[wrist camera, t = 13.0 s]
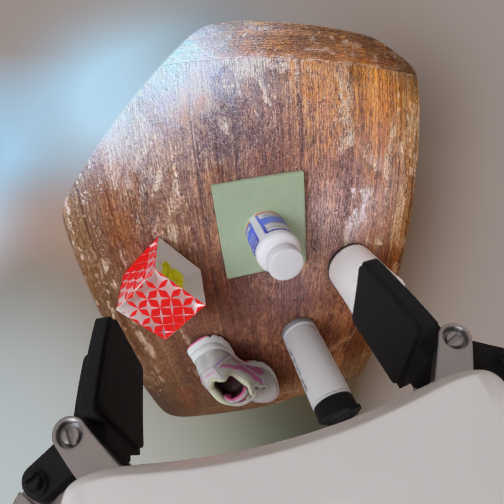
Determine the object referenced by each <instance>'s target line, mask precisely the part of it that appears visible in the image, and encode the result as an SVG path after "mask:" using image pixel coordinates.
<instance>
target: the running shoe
mask: <svg viewBox="0 0 504 504" xmlns="http://www.w3.org/2000/svg"><path fill="white" fill-rule="evenodd" d="M187 353H188V355H189V356H190V357H191V358H192V361H193V362H194V364H195V365H196V368H197V370H198V373H199V375H200V378H201V383H202V384H203V386H204V387H205V388H206V389H207V390H208V391H209V392H210V393H211V395H212V396H213V397H214V398H215V399H216V400H217V401H219V402H220V403H222V404H226V405H231V406H242V405H245V404H247V403H249V402H251V401H254V402H258V403H268V402H272V401H273V400H275V399H276V398H277V397H278V395H279V386H278V382H277V379H276V376H275V373H274V372H273V371H272V369H271V368H270V367H269V366H268V365H266V364H265V363H264V362H262V361H255V360H247V361H243V360H241V359H240V358H238V357H237V356H236V355H235V353H234V351H233V349H232V348H231V346H230V345H229V343H228V342H227V341H226V340H225V339H224V338H223V337H221V336H217V335H214V334H213V335H212V336H211V337H209V336H204V337H202V338H200V339H198V340H197V341H195V342H194V343H193V344H191V345H190V346H189V347H188V349H187Z"/></svg>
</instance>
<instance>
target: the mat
mask: <svg viewBox="0 0 504 504" xmlns="http://www.w3.org/2000/svg"><path fill="white" fill-rule="evenodd" d="M211 189H212V196H213V202H214V208H215V213H216V219H217V225H218V231H219V237H220V242H221V248H222V254H223V259H224V265H225V270H226V276H227V279H230V278H234V277H239V276H244V275H249V274H253V273H258V272H262V271H265V270H264V269H263V268H261V266H260V265H259V264H258V262H257V260H256V258H255V256H254V253H253V251H252V249H251V247H250V245H249V242H248V240H247V238H246V235H245V227H246V223H247V221H248V220H249V219H250V217H252V216H253V215H254V214H255V213H257V212H260V211H264V210H269V211H273V212H275V213H277V214H278V215H279V216H280V217H281V218H282V219H283V220H284V222H285V223H286V224H287V225H288V227H289V228H290V229H291V231H292V232H293V233H294V234H295V236H296V237H297V239H298V240H299V243H300V246H301V255H302V257H303V262H306V228H305V191H304V172H303V171H302V170H301V171H294V172H287V173H280V174H273V175H266V176H260V177H254V178H248V179H242V180H236V181H230V182H225V183H219V184H214V185H211Z"/></svg>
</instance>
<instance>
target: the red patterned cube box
mask: <svg viewBox="0 0 504 504" xmlns="http://www.w3.org/2000/svg"><path fill="white" fill-rule="evenodd" d="M205 305H206V303H205V296H204V290H203V283H202V276H201V270H200V269H199V268H198V267H196V266H195V265H194V264H193V263H191V262H190V261H189V260H187V259H186V258H185V257H184V256H182V255H181V254H180V253H178V252H177V251H176V250H175V249H173V248H172V247H171V246H170V245H168V244H167V243H166V242H165V241H163V240H162V239H161V238H160V237H157V238H156V239H155V240H154V241H153V242H152V244H151V245H150V246H149V247H148V248H147V249H146V250H145V251H144V252H143V253H142V254H141V256H140V257H139V258H138V259H137V260H136V261H135V262H134V263H133V264H132V265H131V267H130V268H129V269H128V270H127V271H126V272H125V273H124V276H123V280H122V285H121V289H120V294H119V298H118V303H117V308H116V310H118V311H119V312H121V313H122V314H124V315H125V316H127V317H129V318H130V319H132V320H133V321H135V322H137V323H138V324H140V325H141V326H143V327H145V328H146V329H148V330H150V331H151V332H153V333H155V334H156V335H158V336H160V337H162V338H163V339H165V340H166V339H167V338H168V337H169V336H170V335H172V334H173V333H174V332H175V331H176V330H177V329H179V328H180V327H181V326H182V325H183V324H184V323H186V322H187V321H188V320H189V319H190V318H191V317H193V316H194V315H195V314H196V313H197V312H198V311H200V310H201V309H202V308H203V307H204V306H205Z"/></svg>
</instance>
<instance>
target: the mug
mask: <svg viewBox="0 0 504 504" xmlns="http://www.w3.org/2000/svg"><path fill="white" fill-rule="evenodd" d="M375 258H376V259H378V258H377V257H376V256H375V255H374V254H373V253H372V252H370V251H369V250H368V249H367V248H366V247H365V246H363V245H361V244H350V245H347V246H344V247H343V248H341V249H340V250H339V251H337V252H336V253H335V255H334V256H333V257H332V259H331V261H330V263H329V267H328V276H329V278H330V280H331V281H332V283H333V284H334V286H335V287H336V289H337V290H338V292H339V293H340V295H341V296H342V298H343V299H344V301H345V302H346V304H347V305H348V307H349V309H350V311H351V313H352V314H353V308H354V301H355V294H356V286H357V279H358V270H359V267H360V266H362V263H363V262H364V261H368V260H371V259H375ZM378 260H379V259H378ZM386 267H387V266H386ZM387 269H388V270H389V271H390V272H391V273H392V274H393V275H394V276H395V277H396V278H397V279H398V280H399V281H400V282H401V283H402V284H403V285H404V286H405V284H404V282H403V280H402V279H401V278H400V277H398V276H397V275H396V274H395V273H393V272H392V271H391V270H390V269H389V268H388V267H387Z"/></svg>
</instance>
